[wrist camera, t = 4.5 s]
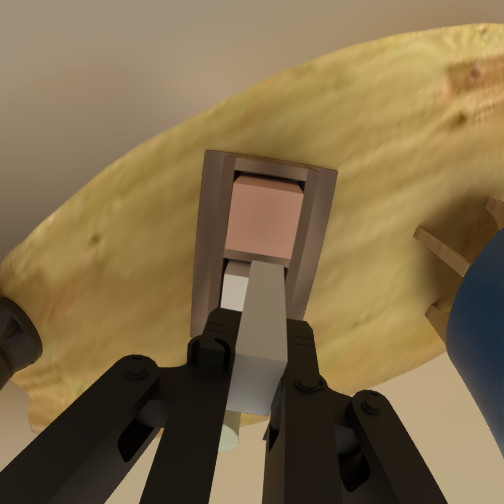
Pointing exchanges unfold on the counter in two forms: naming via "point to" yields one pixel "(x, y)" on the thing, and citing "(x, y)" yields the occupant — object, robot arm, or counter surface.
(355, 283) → the counter surface
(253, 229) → the key terracotta
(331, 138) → the counter surface
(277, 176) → the brown block holder tray
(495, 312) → the planter
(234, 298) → the key white
